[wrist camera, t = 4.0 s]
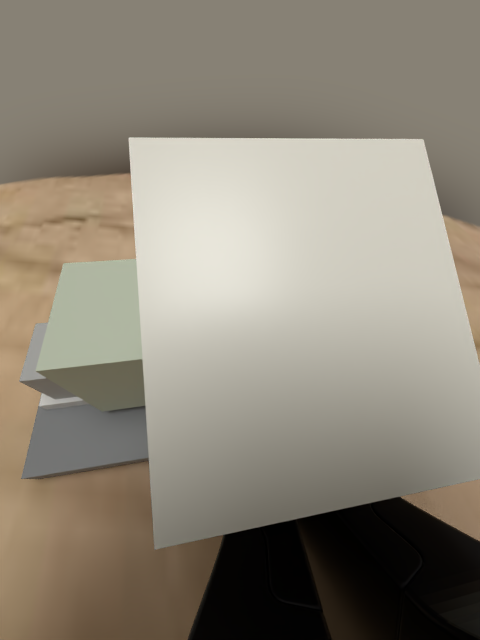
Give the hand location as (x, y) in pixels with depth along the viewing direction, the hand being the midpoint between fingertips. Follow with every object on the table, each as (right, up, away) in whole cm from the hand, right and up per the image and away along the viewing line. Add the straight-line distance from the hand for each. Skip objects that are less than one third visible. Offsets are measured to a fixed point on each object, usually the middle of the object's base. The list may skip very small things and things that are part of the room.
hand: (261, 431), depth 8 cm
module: (-1, +2, +7) cm, 7 cm away
